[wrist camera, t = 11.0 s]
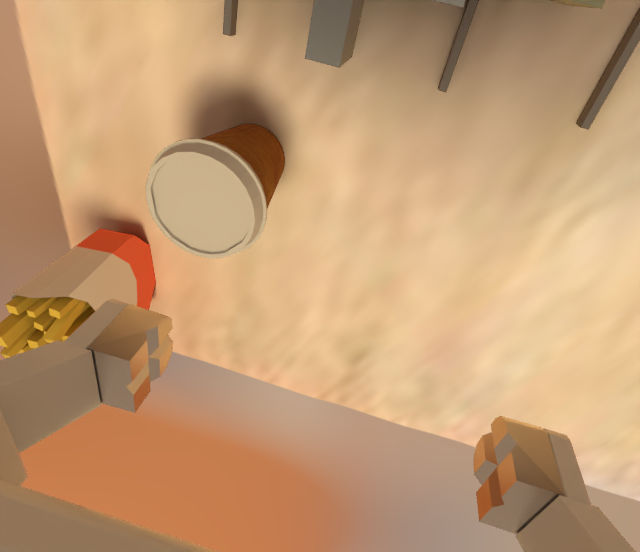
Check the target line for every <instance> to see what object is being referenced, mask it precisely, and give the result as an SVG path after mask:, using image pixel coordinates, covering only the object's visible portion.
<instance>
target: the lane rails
mask: <svg viewBox="0 0 640 552" xmlns="http://www.w3.org/2000/svg"><path fill="white" fill-rule="evenodd" d="M478 1H479V0H468V2H467V5H466V8H465V11H464V14H463V17H462V20H461V23H460V25H459V28H458V31H457V34H456V37H455V40H454V43H453V46H452V49H451V52H450V55H449V58H448V60H447V63H446V66H445V69H444V72H443V75H442V78H441V81H440V84H439V87H438V90H439V91H443V92H446V91H447V88H448V85H449V82H450V80H451V77H452V74H453V71H454V68H455V65H456V63H457V60H458V57H459V54H460V51H461V49H462V46H463V43H464V40H465V37H466V34H467V32H468V29H469V26H470V23H471V20H472V18H473V15H474V12H475V9H476V6H477V3H478ZM237 4H238V0H225V5H224V23H223V34H224V35H228V36H232V35H235V33H236V18H237ZM639 40H640V9H639V11H638V12H637V14H636V16H635V18H634V20H633V22H632V23H631V25H630V27H629V29H628V31H627V32H626V34H625V36H624V38H623V40H622V42H621V43H620V45H619V47H618V49H617V51H616V52H615V54H614V56H613V58H612V60H611V61H610V63H609V65H608V67H607V69H606V71H605V72H604V74H603V76H602V78H601V80H600V81H599V83H598V85H597V87H596V89H595V90H594V92H593V94H592V96H591V98H590V100H589V101H588V103H587V105H586V107H585V109H584V110H583V112H582V114H581V116H580V118H579V119H578V121H577V123H576V124H577V125H578V126H580V127H581V128H584V129H589V128H590V126H591V124H592V122H593V121H594V119H595V117H596V115H597V114H598V112H599V110H600V108H601V107H602V105H603V103H604V101H605V100H606V98H607V96H608V94H609V93H610V91H611V89H612V87H613V86H614V84H615V82H616V80H617V79H618V77H619V75H620V74H621V72H622V70H623V68H624V67H625V65H626V63H627V61H628V60H629V58H630V56H631V54H632V53H633V51H634V49H635V47H636V46H637V44H638V42H639Z"/></svg>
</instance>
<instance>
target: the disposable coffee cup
mask: <svg viewBox="0 0 640 552" xmlns="http://www.w3.org/2000/svg"><path fill="white" fill-rule="evenodd" d="M284 165H285V157H284V152H283V149H282V146H281V145H280V143H279V141H278V140H277V138H276V137H275V136H274V135H273V134H272V133H271V132H270V131H268V130H267V129H265V128H264V127H261V126H258V125H254V124H243V125H240V126H237V127H234V128H231V129H228V130H225V131H222V132H219V133H216V134H214V135H211V136H208V137H205V138H202V139H193V138H192V139H185V140H180V141H177V142H174V143H172V144H171V145H169V146H167V147H165V148H164V149H163V150H162V151H161V152H160V153H159V154H158V155H157V156H156V158H155V160H154V162H153V164H152V166H151V169H150V173H149V175H148V179H147V183H146V200H147V204H148V208H149V211H150V213H151V215H152V218H153V220H154V221H155V223H156V224H157V226H158V227H159V229H160V230H161V231H162V232H163V233H164V235H165V236H166V237H167V238H168V239H170V240H171V241H172V242H173V243H174V244H176V245H177V246H178V247H180V248H182V249H183V250H185V251H187V252H189V253H192V254H194V255H197V256H201V257H205V258H223V257H227V256H231V255H233V254H237V253H240V252H242V251H244V250H246V249H248V248H249V247H251V246H252V245H253V244H254V243H255V242H256V241H257V239H258V238H259V237H260V235H261V233H262V231H263V229H264V226H265V223H266V218H267V208H268V205H269V203H270V201H271V198H272V196H273V194H274V191H275V189H276V186H277V184H278V182H279V179H280V177H281V175H282V173H283V170H284Z"/></svg>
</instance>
